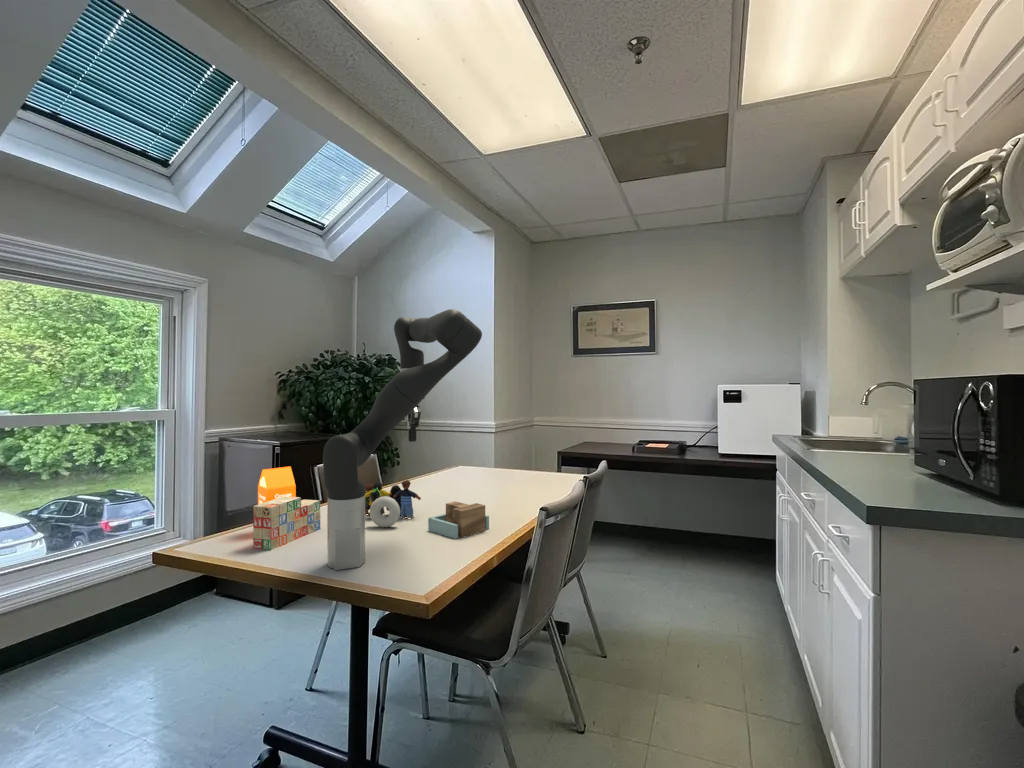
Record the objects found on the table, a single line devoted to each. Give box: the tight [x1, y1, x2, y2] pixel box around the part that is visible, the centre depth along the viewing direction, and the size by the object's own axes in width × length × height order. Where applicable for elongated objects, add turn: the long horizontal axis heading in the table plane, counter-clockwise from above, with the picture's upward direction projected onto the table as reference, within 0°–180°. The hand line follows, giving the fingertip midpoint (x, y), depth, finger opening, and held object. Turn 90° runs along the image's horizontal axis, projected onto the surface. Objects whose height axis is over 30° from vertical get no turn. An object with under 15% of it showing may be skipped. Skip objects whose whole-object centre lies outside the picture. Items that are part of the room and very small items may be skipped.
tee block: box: [445, 501, 486, 538], centre depth 155 cm, size 11×10×8 cm
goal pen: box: [427, 513, 490, 540], centre depth 155 cm, size 13×14×4 cm
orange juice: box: [257, 465, 297, 505], centre depth 154 cm, size 8×9×20 cm
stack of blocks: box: [252, 496, 321, 551], centre depth 147 cm, size 21×6×12 cm, turn 164°
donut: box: [369, 496, 401, 528], centre depth 158 cm, size 10×4×10 cm, turn 84°
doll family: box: [365, 479, 422, 519], centre depth 171 cm, size 23×9×13 cm, turn 91°
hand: (412, 441), depth 148 cm, fingers closed
